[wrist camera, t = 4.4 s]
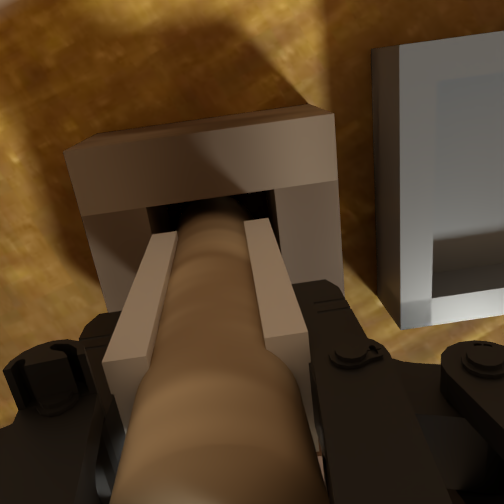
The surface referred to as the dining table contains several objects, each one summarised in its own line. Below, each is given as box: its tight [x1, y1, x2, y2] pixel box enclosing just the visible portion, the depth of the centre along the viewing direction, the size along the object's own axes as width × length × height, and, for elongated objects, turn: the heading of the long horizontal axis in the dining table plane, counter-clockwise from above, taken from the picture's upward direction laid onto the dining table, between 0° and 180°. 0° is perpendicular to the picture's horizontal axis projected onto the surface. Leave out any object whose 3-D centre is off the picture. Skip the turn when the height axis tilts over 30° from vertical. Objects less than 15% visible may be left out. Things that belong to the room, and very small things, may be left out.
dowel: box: [109, 196, 330, 504], centre depth 12 cm, size 3×3×12 cm
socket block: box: [63, 104, 345, 313], centre depth 17 cm, size 8×8×4 cm
